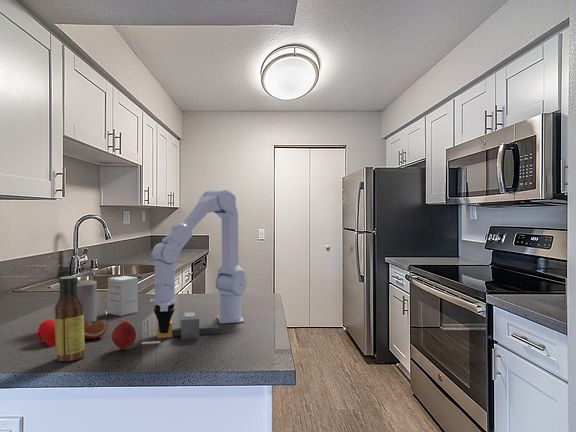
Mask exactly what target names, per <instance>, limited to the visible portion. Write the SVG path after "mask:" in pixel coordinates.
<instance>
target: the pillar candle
mask: <svg viewBox="0 0 576 432" xmlns="http://www.w3.org/2000/svg"><path fill="white" fill-rule="evenodd" d="M97 283H98V282H97V281H96V280H91V279H81V278H79V280H78V282H77V292H78V297H79V300H80V302H81V304H82V307H83V312H84V323H91V322H92V321H97V308H98V307H97V304H98V303H97V297H98V295H97V293H98V292H97V291H98V289H97V288H98V287H97V286H98V284H97Z"/></svg>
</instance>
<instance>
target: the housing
mask: <svg viewBox="0 0 576 432" xmlns="http://www.w3.org/2000/svg"><path fill="white" fill-rule="evenodd" d="M199 316H200V315H199V313H198V310H187V311H184V310H183V311H182V310H181V311H180V322H179V323H180V326H179V328H181V336H180V340H181V341H186V340H189V341H190V340H199V339H200V335H199V327H200V317H199Z"/></svg>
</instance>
